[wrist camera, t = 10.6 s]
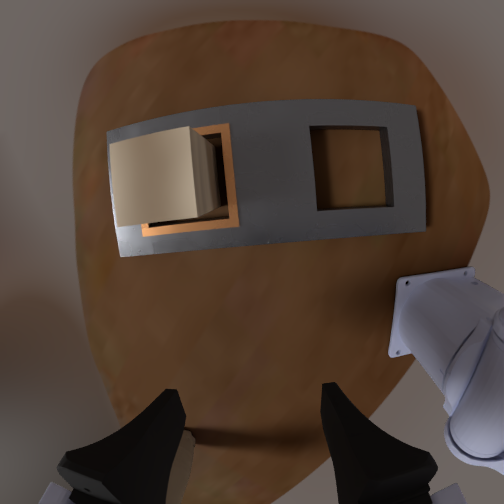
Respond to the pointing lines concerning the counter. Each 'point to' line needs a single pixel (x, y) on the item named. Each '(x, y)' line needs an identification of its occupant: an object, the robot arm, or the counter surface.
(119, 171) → the peg
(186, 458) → the handle
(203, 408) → the counter surface
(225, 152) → the grey board with holes
